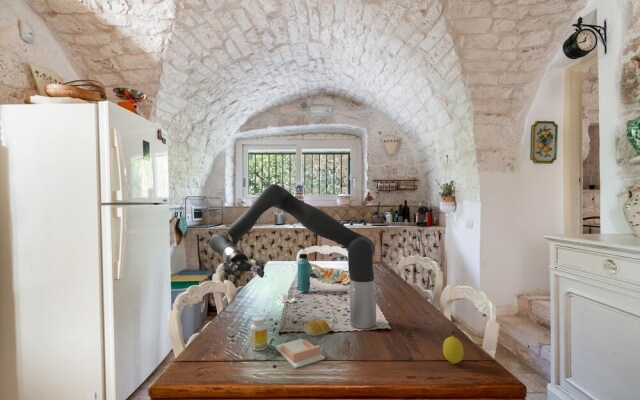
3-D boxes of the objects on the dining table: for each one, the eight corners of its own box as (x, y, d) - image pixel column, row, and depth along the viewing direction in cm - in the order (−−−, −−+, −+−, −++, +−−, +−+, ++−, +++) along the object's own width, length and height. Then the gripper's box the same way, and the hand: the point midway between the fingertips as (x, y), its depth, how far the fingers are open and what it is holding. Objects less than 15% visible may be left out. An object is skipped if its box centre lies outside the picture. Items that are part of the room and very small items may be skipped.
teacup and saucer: (297, 302, 150) (297, 293, 150) (287, 307, 143) (287, 298, 143) (283, 299, 154) (283, 291, 154) (272, 304, 148) (272, 295, 148)
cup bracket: (274, 347, 103) (274, 338, 103) (301, 340, 108) (301, 331, 108) (295, 368, 90) (295, 357, 90) (324, 358, 95) (324, 348, 95)
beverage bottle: (308, 294, 160) (308, 255, 160) (296, 294, 161) (295, 254, 161) (311, 291, 166) (311, 253, 166) (299, 290, 168) (298, 252, 168)
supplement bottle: (247, 349, 102) (246, 319, 102) (257, 342, 107) (257, 314, 107) (260, 352, 100) (260, 322, 100) (270, 345, 105) (270, 316, 105)
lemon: (439, 359, 94) (439, 332, 94) (457, 358, 95) (457, 331, 95) (448, 369, 89) (448, 341, 89) (467, 368, 89) (467, 340, 89)
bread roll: (333, 332, 115) (333, 321, 115) (312, 338, 110) (312, 327, 110) (321, 325, 122) (320, 314, 122) (300, 330, 117) (300, 319, 117)
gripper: (218, 250, 118) (233, 267, 105) (253, 248, 126) (271, 264, 114) (215, 269, 119) (230, 288, 106) (250, 266, 128) (268, 284, 115)
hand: (251, 276), depth 110 cm, fingers open, 8 cm apart
